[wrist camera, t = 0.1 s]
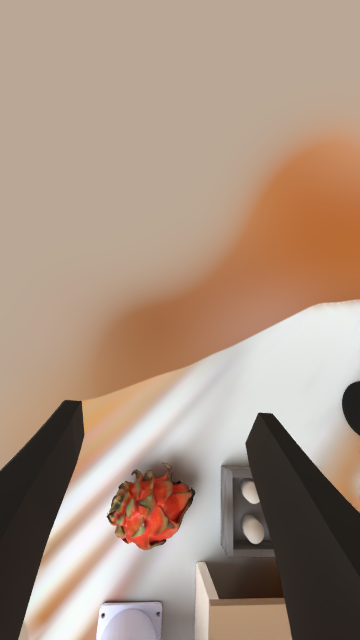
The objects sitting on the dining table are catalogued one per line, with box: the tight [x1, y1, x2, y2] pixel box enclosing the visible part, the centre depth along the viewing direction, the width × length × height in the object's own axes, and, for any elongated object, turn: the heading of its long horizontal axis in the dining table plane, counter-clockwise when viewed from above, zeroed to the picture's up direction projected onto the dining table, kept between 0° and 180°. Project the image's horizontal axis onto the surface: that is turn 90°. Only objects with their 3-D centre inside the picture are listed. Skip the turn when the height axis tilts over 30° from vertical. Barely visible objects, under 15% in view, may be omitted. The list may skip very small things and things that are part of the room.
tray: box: [221, 466, 275, 557], centre depth 36 cm, size 10×8×4 cm
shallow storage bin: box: [194, 562, 292, 640], centre depth 29 cm, size 11×16×8 cm
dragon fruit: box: [107, 463, 195, 550], centre depth 33 cm, size 8×8×12 cm
